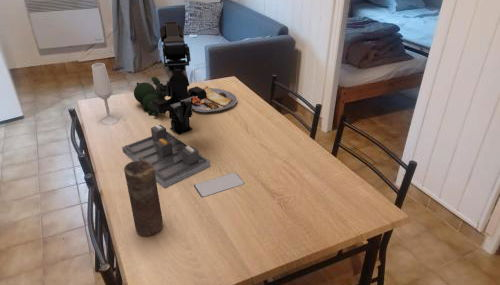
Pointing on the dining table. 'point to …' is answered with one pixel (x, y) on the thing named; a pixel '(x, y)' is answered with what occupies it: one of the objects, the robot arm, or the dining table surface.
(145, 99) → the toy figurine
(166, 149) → the breaker mid
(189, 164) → the breaker
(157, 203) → the candle
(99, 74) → the champagne flute
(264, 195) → the dining table surface
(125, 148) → the panel
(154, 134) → the block
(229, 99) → the food plate
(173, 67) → the robot arm
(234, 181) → the smartphone
